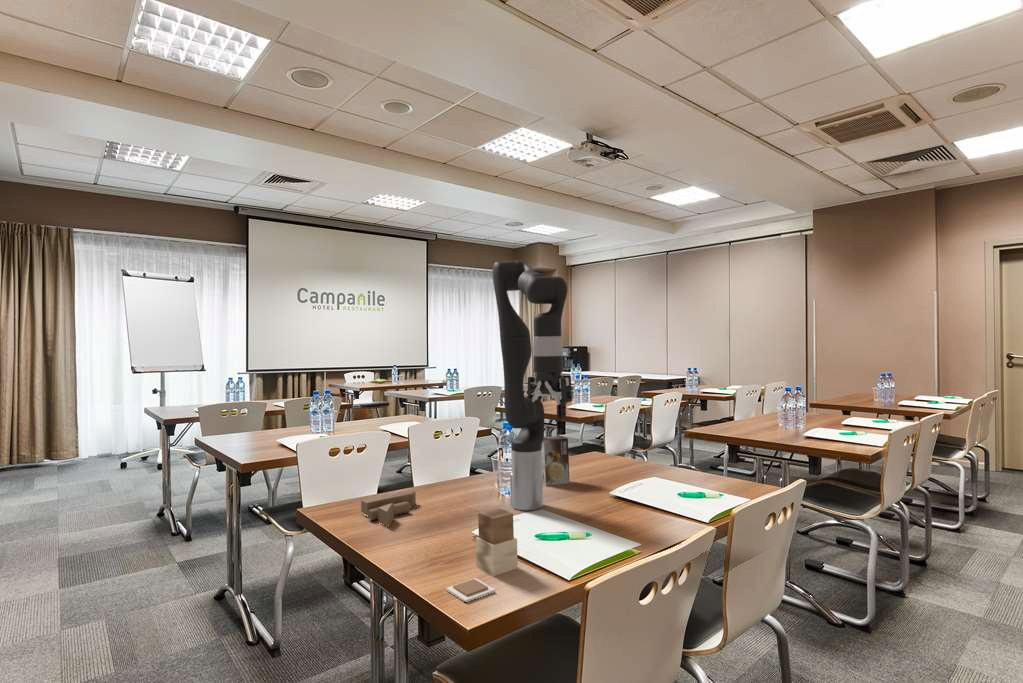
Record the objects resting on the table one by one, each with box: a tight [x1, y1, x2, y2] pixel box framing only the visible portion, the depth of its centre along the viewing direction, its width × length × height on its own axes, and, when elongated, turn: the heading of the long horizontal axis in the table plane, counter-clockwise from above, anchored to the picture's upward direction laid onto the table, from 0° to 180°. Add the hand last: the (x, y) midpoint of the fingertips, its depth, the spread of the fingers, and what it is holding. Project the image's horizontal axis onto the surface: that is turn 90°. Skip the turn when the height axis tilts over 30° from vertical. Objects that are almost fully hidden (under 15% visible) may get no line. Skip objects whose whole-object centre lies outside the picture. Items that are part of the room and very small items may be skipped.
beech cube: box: [475, 536, 519, 577], centre depth 118 cm, size 6×6×6 cm
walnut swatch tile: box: [445, 577, 496, 603], centre depth 106 cm, size 7×7×1 cm
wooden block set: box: [360, 489, 417, 527], centre depth 157 cm, size 17×6×18 cm
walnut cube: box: [477, 507, 515, 545], centre depth 118 cm, size 6×6×6 cm
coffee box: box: [542, 435, 571, 487], centre depth 190 cm, size 9×6×16 cm
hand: (549, 418), depth 137 cm, fingers open, 8 cm apart
